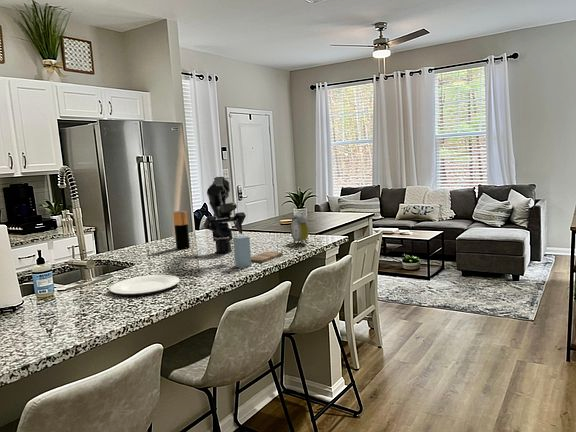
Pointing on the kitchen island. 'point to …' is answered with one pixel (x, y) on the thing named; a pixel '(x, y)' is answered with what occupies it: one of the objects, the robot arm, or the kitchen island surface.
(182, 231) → the battery
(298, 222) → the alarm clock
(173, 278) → the plate
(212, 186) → the robot arm
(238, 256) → the slate-blue post
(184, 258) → the kitchen island surface
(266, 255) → the tan flat board
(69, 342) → the kitchen island surface
